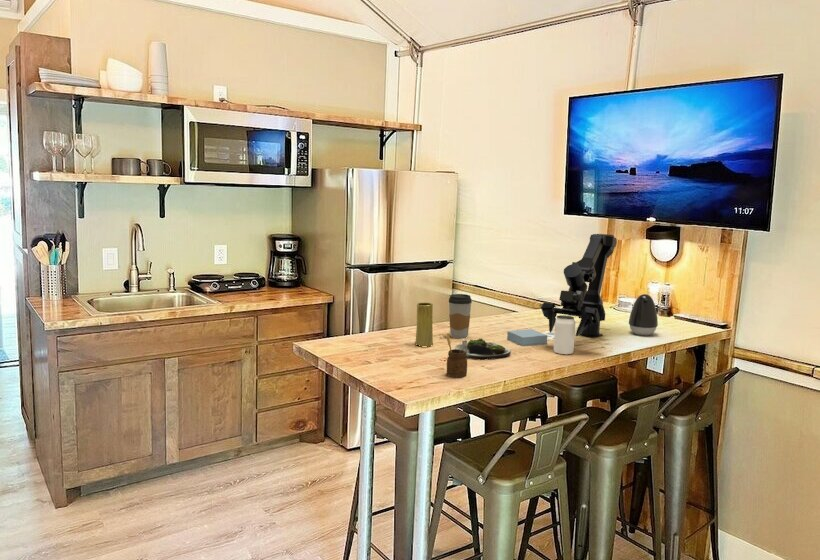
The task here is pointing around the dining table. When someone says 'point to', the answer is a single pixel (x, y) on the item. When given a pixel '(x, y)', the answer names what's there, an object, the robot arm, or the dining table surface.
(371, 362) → the dining table surface
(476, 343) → the salad plate
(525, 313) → the dining table surface
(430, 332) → the vase
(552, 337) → the page
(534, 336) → the base brick
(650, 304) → the black egg-shaped dome
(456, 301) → the coffee cup
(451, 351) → the utensil holder
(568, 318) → the can
